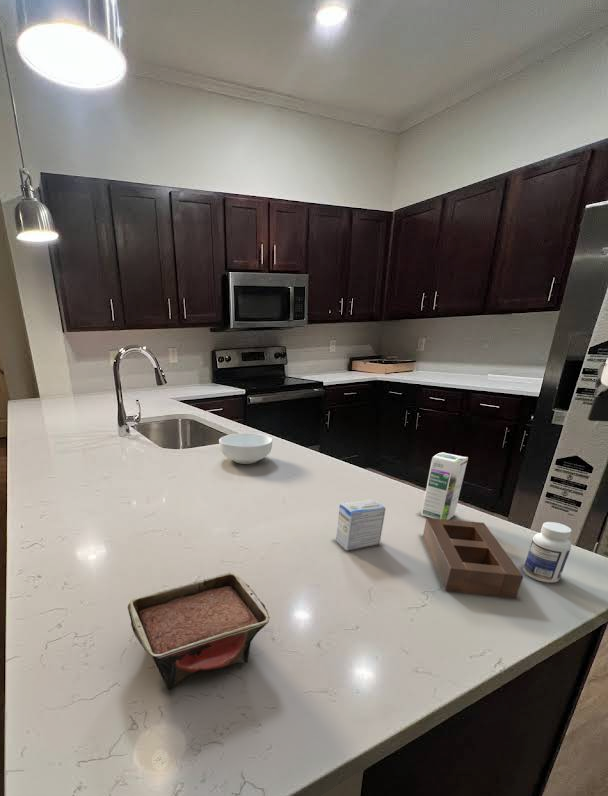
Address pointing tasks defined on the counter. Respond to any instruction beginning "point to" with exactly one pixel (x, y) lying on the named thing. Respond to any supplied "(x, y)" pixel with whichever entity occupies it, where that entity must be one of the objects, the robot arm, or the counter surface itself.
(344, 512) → the medicine box
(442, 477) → the syrup box
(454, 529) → the holder
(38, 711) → the counter surface
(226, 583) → the baking dish
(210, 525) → the counter surface
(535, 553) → the pill bottle
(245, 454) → the cereal bowl
